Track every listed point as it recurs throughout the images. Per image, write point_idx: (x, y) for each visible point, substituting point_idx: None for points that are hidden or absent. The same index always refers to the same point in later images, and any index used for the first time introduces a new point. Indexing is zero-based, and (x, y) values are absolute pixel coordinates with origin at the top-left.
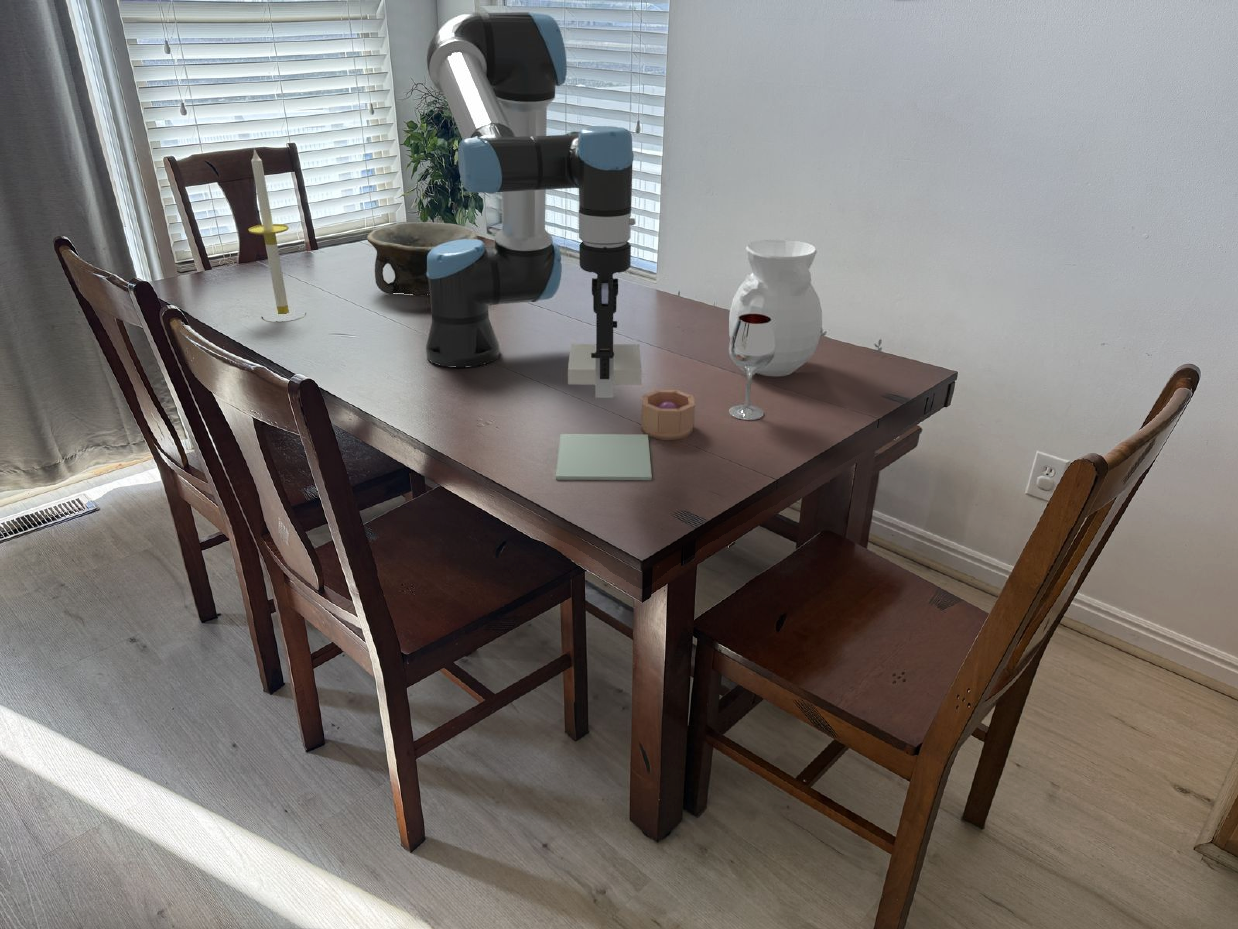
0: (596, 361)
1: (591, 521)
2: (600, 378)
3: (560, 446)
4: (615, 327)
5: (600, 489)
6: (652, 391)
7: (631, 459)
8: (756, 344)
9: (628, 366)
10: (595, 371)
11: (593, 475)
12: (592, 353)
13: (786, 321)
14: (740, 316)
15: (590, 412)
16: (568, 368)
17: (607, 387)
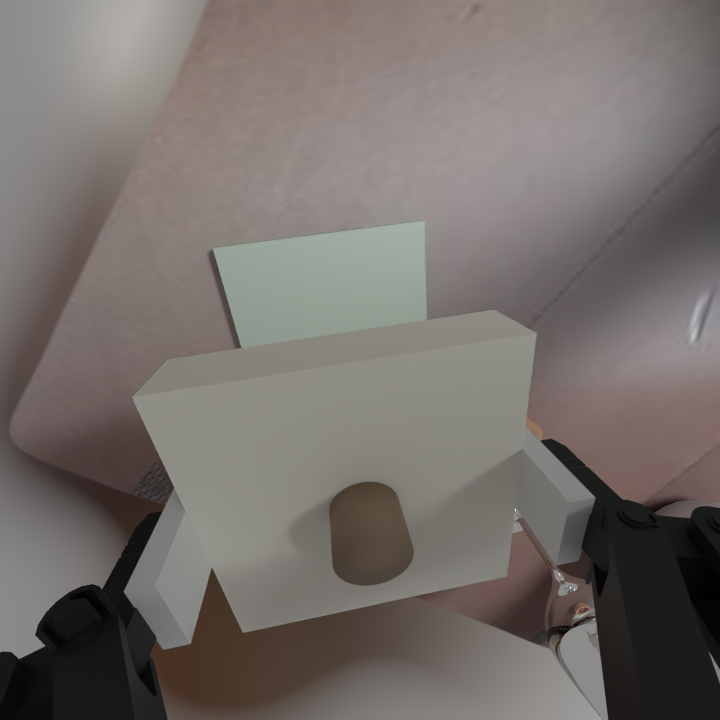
0: (141, 566)
1: (73, 348)
2: (145, 519)
3: (359, 232)
4: (587, 573)
5: (203, 344)
6: (535, 424)
7: None
8: (573, 676)
9: (266, 596)
10: (161, 514)
11: (239, 327)
12: (39, 637)
13: (713, 659)
14: None
15: (544, 269)
16: (147, 397)
17: None
